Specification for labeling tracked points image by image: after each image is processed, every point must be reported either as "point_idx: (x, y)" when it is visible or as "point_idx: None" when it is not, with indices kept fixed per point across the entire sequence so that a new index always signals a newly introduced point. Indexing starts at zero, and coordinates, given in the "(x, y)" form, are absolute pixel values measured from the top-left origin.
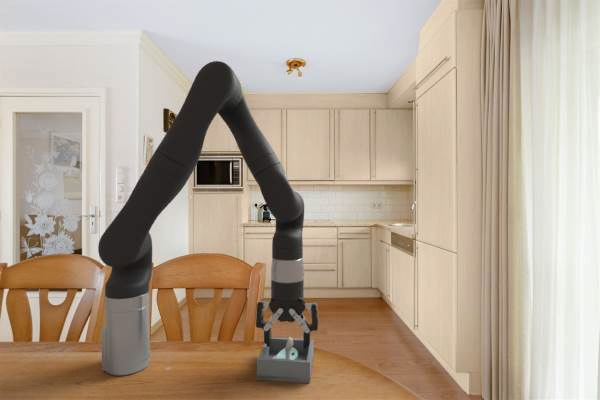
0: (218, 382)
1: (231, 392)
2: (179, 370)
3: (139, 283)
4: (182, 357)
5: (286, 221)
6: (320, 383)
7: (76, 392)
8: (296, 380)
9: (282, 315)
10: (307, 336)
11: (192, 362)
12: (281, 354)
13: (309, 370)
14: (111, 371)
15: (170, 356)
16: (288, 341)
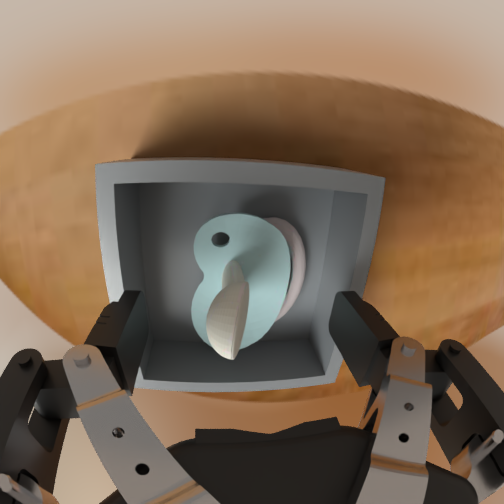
0: (439, 159)
1: (402, 99)
2: (496, 223)
3: None
4: (489, 280)
5: None
6: (94, 164)
7: None
8: (182, 157)
9: (331, 473)
10: (101, 337)
11: (480, 262)
12: (265, 308)
13: (114, 161)
14: None
15: (500, 280)
16: (233, 311)
